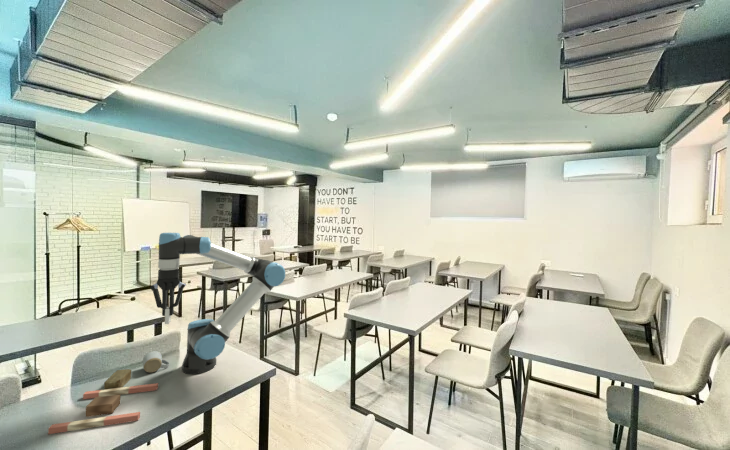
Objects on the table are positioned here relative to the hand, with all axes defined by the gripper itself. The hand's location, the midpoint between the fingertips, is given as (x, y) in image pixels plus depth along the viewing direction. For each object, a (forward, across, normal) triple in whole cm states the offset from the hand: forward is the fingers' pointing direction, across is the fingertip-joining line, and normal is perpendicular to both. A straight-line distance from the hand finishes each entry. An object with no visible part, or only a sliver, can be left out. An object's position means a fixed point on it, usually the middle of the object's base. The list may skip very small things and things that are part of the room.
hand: (167, 322), depth 125 cm
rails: (+28, +19, +9) cm, 35 cm away
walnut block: (+29, +18, +10) cm, 35 cm away
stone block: (+29, +20, -9) cm, 36 cm away
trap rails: (+29, +16, +9) cm, 34 cm away
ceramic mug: (+29, +10, -21) cm, 37 cm away
